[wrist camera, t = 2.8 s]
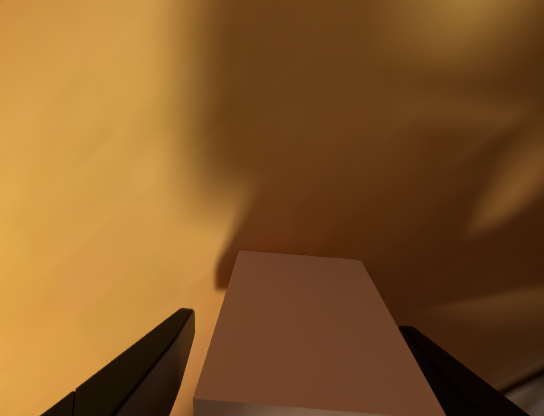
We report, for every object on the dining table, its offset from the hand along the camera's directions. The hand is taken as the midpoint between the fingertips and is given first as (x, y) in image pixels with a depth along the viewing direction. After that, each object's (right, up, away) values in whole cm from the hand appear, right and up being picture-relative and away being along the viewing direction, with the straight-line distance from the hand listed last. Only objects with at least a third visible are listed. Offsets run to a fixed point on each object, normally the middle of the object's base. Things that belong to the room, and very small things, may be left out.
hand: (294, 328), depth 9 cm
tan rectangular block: (0, 0, +1) cm, 1 cm away
